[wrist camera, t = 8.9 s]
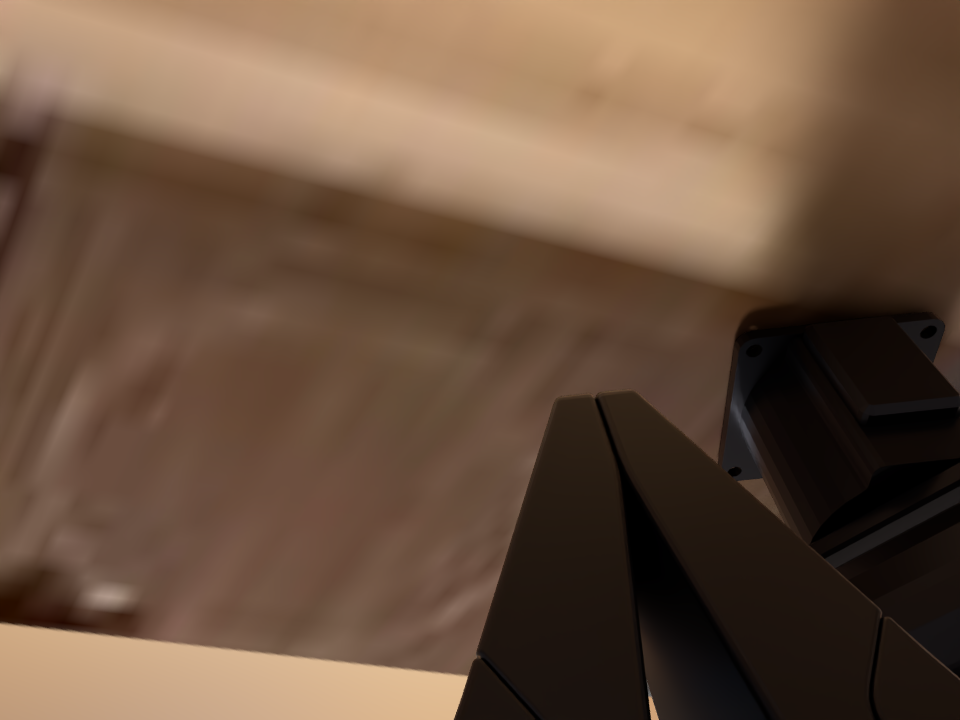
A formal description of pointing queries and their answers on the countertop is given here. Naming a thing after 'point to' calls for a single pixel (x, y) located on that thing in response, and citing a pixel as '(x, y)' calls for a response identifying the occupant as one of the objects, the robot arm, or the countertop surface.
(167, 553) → the countertop surface
